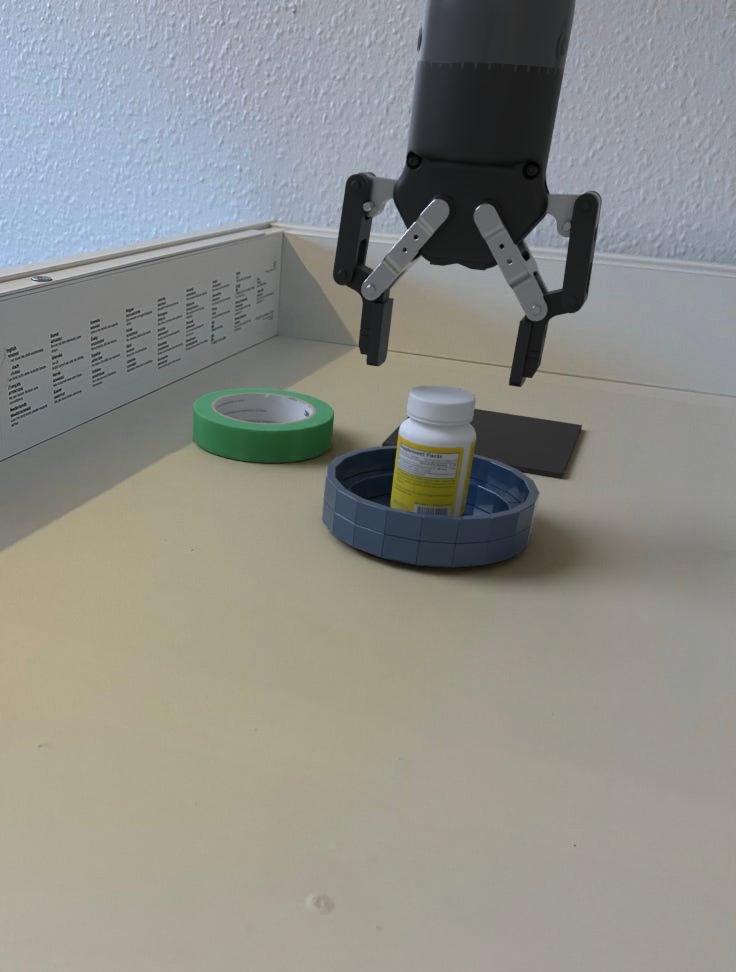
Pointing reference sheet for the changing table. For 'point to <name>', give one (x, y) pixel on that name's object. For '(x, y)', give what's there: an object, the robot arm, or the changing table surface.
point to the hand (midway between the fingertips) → (444, 373)
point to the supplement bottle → (435, 452)
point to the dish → (425, 537)
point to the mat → (520, 441)
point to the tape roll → (262, 425)
